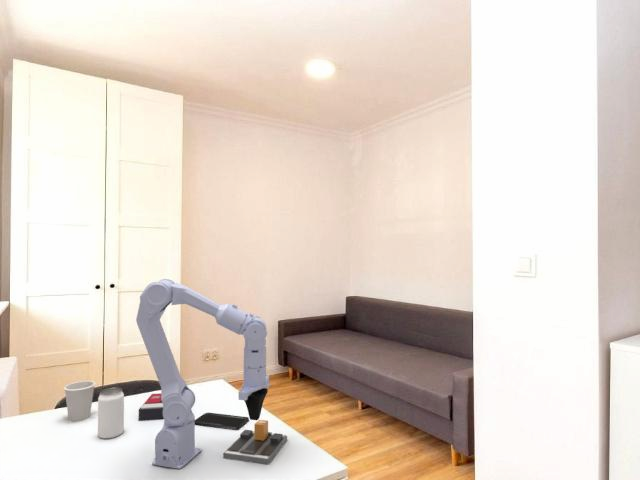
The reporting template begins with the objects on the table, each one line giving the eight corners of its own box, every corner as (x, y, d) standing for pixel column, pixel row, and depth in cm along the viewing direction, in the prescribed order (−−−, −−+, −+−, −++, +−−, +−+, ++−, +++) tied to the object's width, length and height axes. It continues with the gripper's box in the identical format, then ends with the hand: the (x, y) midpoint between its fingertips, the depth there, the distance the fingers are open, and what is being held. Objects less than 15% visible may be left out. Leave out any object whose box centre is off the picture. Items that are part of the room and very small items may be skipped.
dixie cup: (84, 423, 122) (85, 389, 122) (57, 423, 122) (57, 389, 122) (100, 412, 130) (100, 380, 131) (74, 412, 131) (74, 380, 131)
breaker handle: (263, 440, 107) (263, 424, 107) (254, 439, 108) (254, 423, 108) (268, 435, 110) (268, 420, 110) (259, 434, 111) (259, 419, 111)
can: (113, 440, 111) (113, 395, 111) (92, 438, 112) (92, 394, 113) (128, 430, 117) (129, 387, 118) (108, 428, 119) (109, 386, 119)
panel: (268, 464, 98) (268, 454, 98) (223, 458, 101) (223, 448, 101) (287, 440, 111) (287, 431, 111) (246, 435, 114) (246, 426, 114)
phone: (206, 412, 128) (250, 417, 124) (206, 415, 128) (250, 421, 124) (191, 422, 121) (237, 428, 117) (191, 426, 121) (237, 432, 116)
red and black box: (184, 390, 140) (176, 404, 126) (184, 403, 140) (176, 419, 125) (150, 392, 139) (138, 407, 124) (150, 405, 138) (138, 421, 124)
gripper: (257, 374, 97) (257, 432, 97) (279, 359, 111) (279, 410, 111) (230, 372, 99) (230, 429, 99) (255, 357, 113) (255, 407, 113)
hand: (254, 419), depth 105 cm, fingers closed
